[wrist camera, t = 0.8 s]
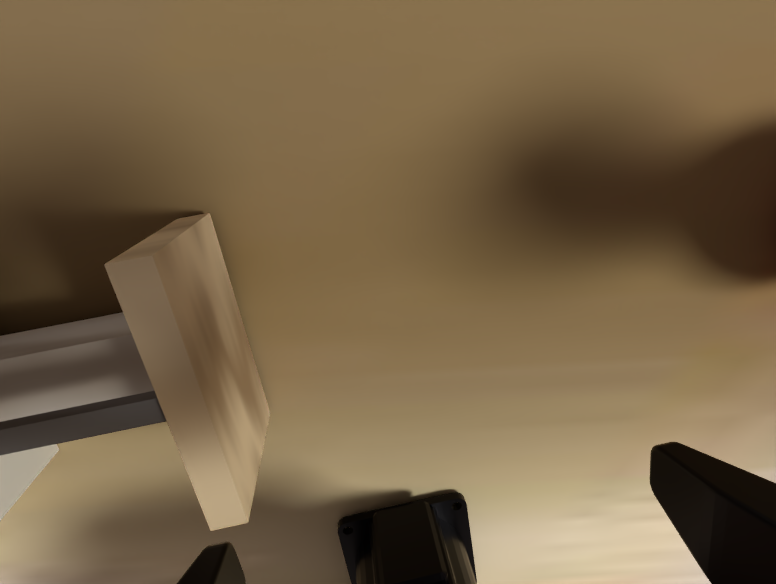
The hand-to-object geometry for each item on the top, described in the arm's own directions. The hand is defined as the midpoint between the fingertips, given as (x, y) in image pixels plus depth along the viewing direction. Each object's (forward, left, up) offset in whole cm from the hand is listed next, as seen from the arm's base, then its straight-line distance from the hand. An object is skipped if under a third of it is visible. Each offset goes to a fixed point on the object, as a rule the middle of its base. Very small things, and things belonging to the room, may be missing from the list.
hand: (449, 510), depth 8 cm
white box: (0, +13, -12) cm, 18 cm away
